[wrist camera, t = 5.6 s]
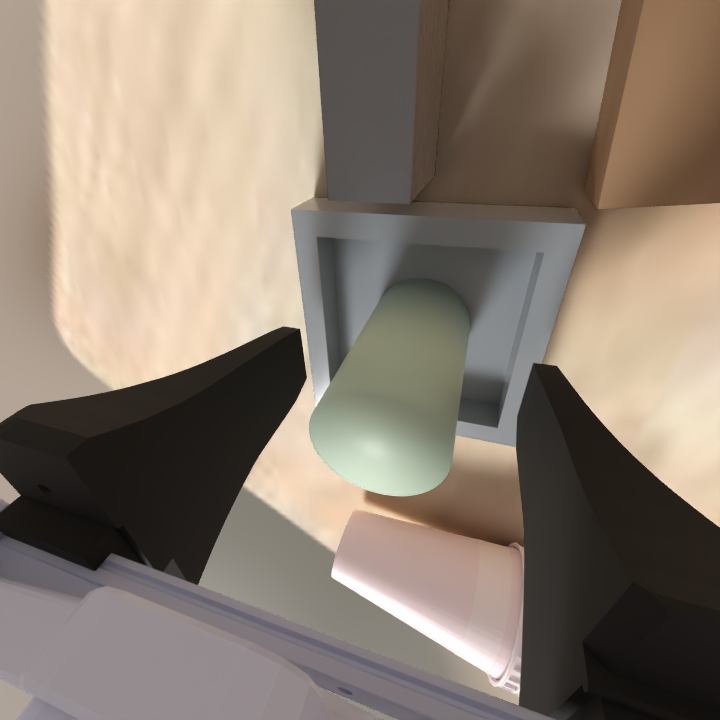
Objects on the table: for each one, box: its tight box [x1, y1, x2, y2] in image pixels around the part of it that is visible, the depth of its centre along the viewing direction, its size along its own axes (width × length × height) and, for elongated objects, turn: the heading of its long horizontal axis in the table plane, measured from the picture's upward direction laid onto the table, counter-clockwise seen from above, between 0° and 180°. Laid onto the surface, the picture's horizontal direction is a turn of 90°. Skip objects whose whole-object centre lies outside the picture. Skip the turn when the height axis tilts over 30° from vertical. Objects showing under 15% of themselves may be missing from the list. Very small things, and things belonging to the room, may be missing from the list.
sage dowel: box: [309, 278, 470, 496], centre depth 12 cm, size 4×4×6 cm
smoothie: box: [332, 509, 524, 693], centre depth 19 cm, size 6×6×14 cm
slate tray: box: [291, 197, 586, 447], centre depth 14 cm, size 8×8×2 cm
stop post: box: [314, 0, 449, 204], centre depth 8 cm, size 2×6×4 cm, turn 2°
